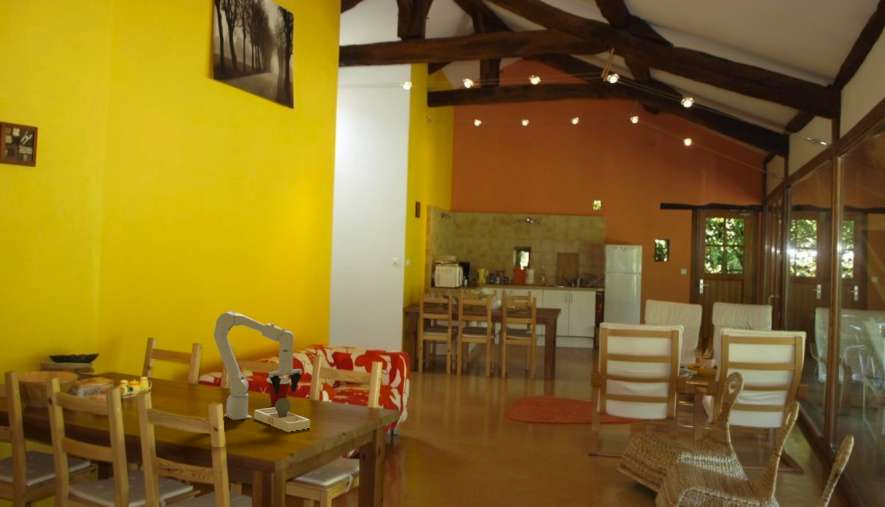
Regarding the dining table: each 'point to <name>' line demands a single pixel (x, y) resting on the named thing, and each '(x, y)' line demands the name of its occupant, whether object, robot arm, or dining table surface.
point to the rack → (282, 420)
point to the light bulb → (282, 407)
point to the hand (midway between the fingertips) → (285, 392)
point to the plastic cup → (282, 390)
